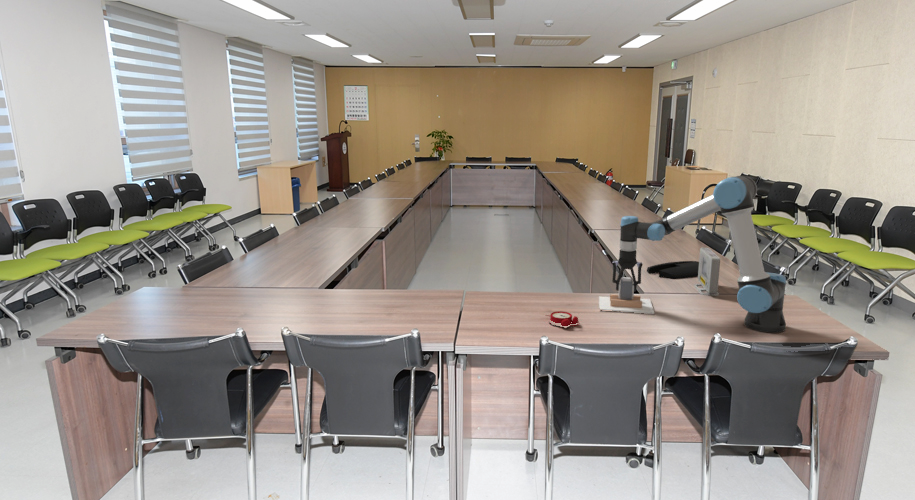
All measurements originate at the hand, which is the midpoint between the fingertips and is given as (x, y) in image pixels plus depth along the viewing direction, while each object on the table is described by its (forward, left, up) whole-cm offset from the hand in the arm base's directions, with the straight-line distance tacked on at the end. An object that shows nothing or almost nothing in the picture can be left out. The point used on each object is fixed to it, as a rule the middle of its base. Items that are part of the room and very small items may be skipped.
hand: (625, 297), depth 257 cm
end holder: (0, 0, -4) cm, 4 cm away
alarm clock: (-30, +27, -5) cm, 41 cm away
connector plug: (0, 0, -3) cm, 3 cm away
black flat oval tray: (+71, -35, -5) cm, 80 cm away
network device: (+34, -42, -4) cm, 54 cm away
